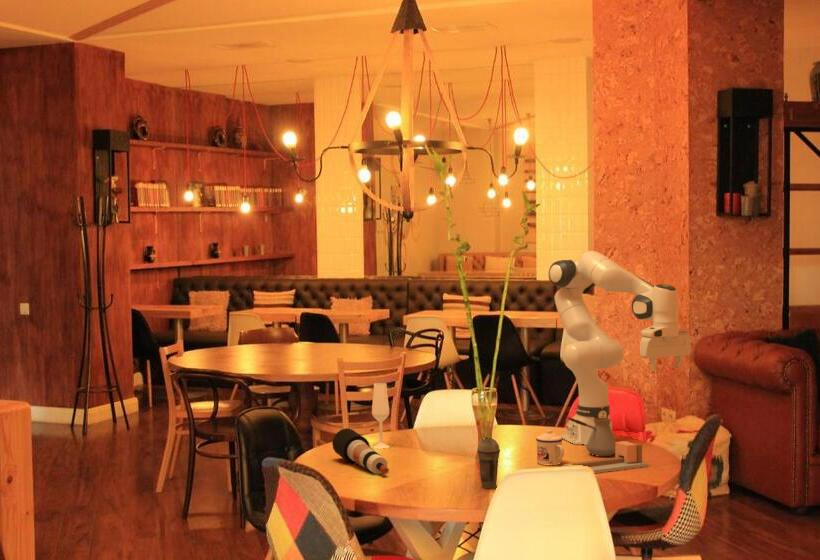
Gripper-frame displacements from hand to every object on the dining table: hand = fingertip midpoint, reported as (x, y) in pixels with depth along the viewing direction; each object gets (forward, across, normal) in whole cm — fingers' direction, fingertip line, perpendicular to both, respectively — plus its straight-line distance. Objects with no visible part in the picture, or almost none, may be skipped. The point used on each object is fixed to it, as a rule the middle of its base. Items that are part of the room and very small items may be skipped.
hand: (665, 369), depth 371 cm
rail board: (+31, +29, +4) cm, 43 cm away
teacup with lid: (+31, +42, -9) cm, 53 cm away
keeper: (+30, +20, +4) cm, 36 cm away
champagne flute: (+31, +83, -64) cm, 109 cm away
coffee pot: (+31, +23, -13) cm, 41 cm away
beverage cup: (+31, +77, +9) cm, 84 cm away
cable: (+32, +101, -36) cm, 112 cm away
